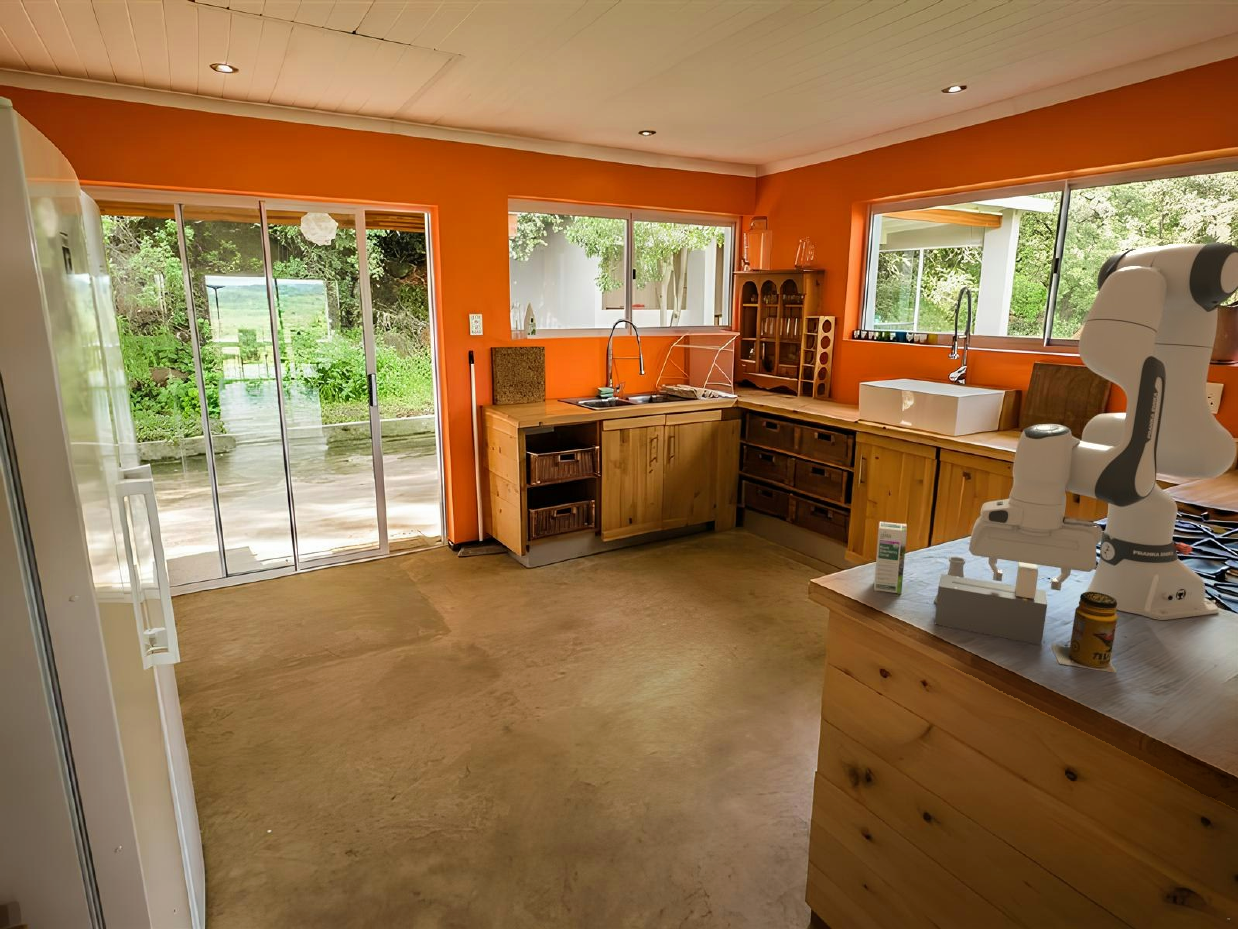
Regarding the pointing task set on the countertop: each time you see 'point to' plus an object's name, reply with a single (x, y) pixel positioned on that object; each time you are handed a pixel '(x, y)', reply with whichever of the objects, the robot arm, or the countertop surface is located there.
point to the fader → (1026, 580)
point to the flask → (955, 568)
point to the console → (990, 609)
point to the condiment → (1091, 633)
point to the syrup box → (890, 557)
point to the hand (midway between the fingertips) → (1025, 584)
